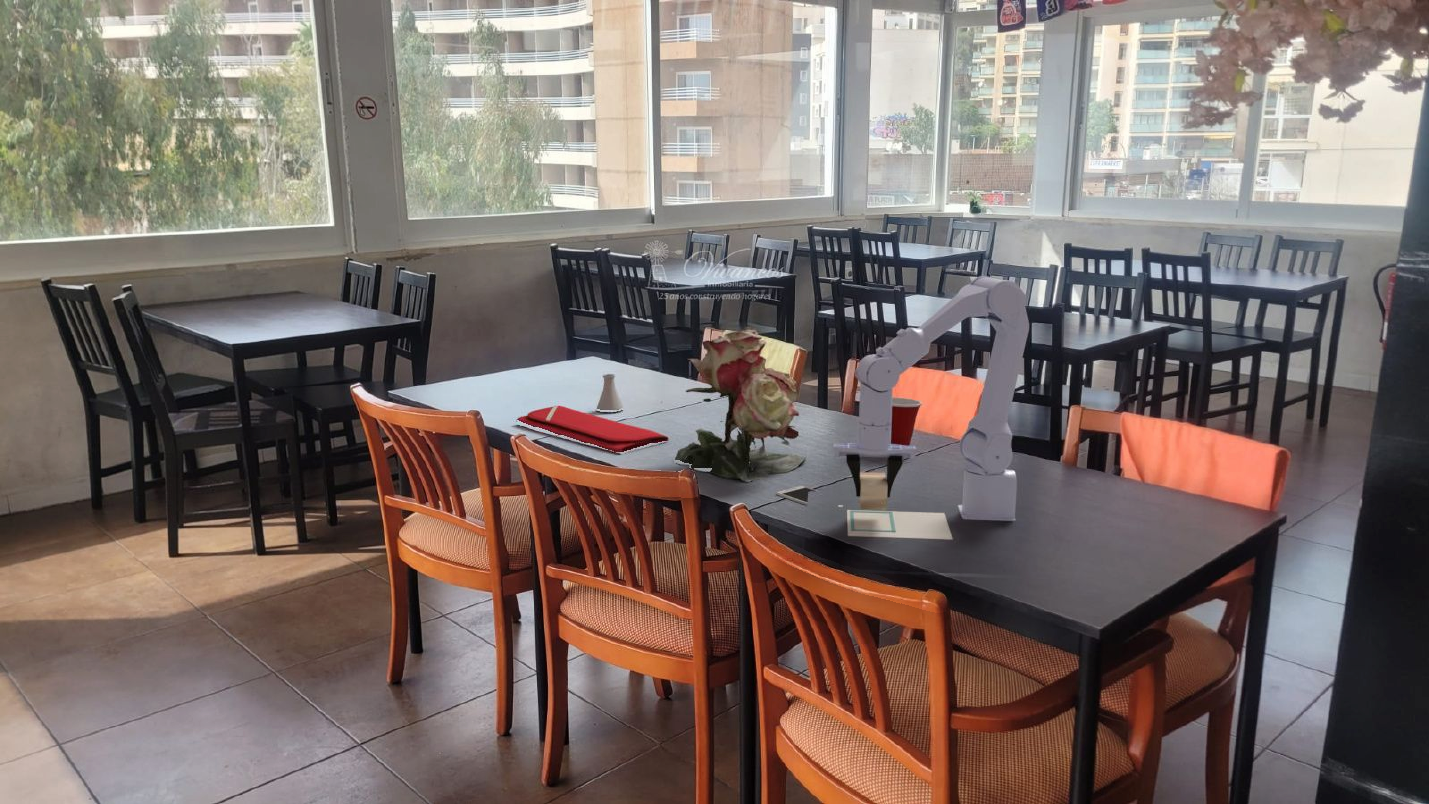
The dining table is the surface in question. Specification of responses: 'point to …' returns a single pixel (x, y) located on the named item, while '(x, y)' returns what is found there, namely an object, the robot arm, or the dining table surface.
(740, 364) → the rose bouquet
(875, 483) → the block
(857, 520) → the mat
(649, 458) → the dining table surface
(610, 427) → the dish drying mat
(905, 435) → the plastic cup
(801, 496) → the smartphone
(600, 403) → the flask
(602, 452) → the dining table surface
